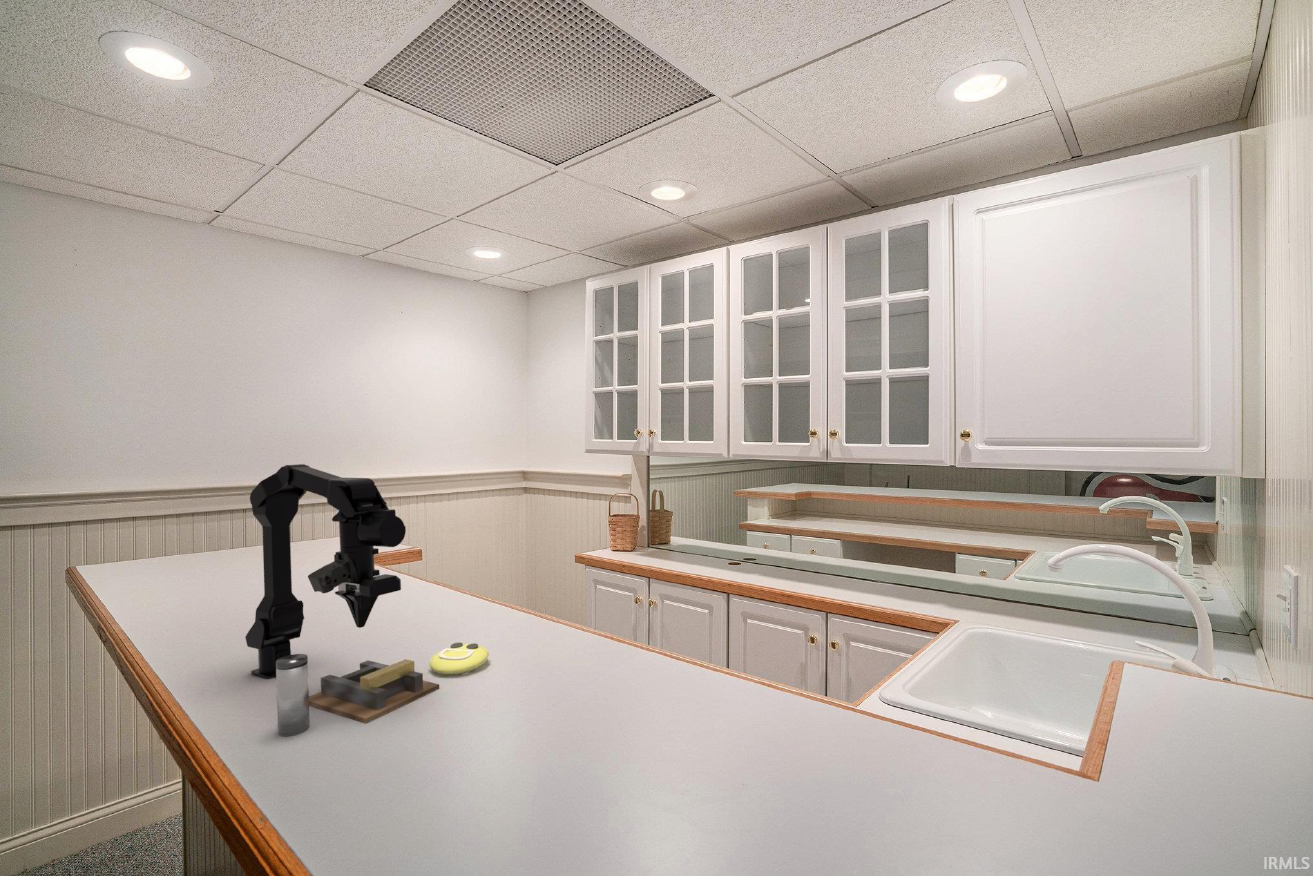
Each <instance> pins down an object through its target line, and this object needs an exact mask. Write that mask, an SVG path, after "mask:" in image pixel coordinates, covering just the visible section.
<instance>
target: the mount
mask: <svg viewBox="0 0 1313 876" xmlns="http://www.w3.org/2000/svg"><path fill="white" fill-rule="evenodd" d="M387 666H390V665H389V664H385V663H380V662H377V661H372V660H368V659H367V660H365V661H363V662H360V663H359V669H357V670H354V671H353V672H350V673H347V674H344V675H341V676H337V675H332V674H327V675H326V676H322V677H320V691H319V692H316V693H314V694H311V695H309V707H314V708H315V709H316V708H318V709H320V710H323V711H326V712H328V713H333V714H336V715H338V716H339V715H340V716H342V717H345V718H348V719H352V720H355V721H357V722H361V723H364V724H367V723H369V722H372V721H374V720H376V719H378V718H380V717H382V716H384V715H386V714H388V713H390V712H394V711H395V710H397V709H399V708H401V707H403V706H405V705H408V704H409V703H412V702H414V701H415V700H418V699H420V698H422V697H425V696H426V695H429V694H431V693H433V692H435V691H437V690H439V689H440V683H435V682H431V681H428V680H424V674H423V673H422V672H419V671H415V672H412V673H410V674H408V675H405V676H403V677H401V678H398V679H396V680H393V681H391V682H389V683H386V684H384V685H382V686H379V687H377V688H375V689H372V690H370V691H368V690H365V689H361V687H360V677H362V676H365V675H367V674H370V673H372V672H375V671H377V670H380V669H382V668H385V667H387Z"/></svg>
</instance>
